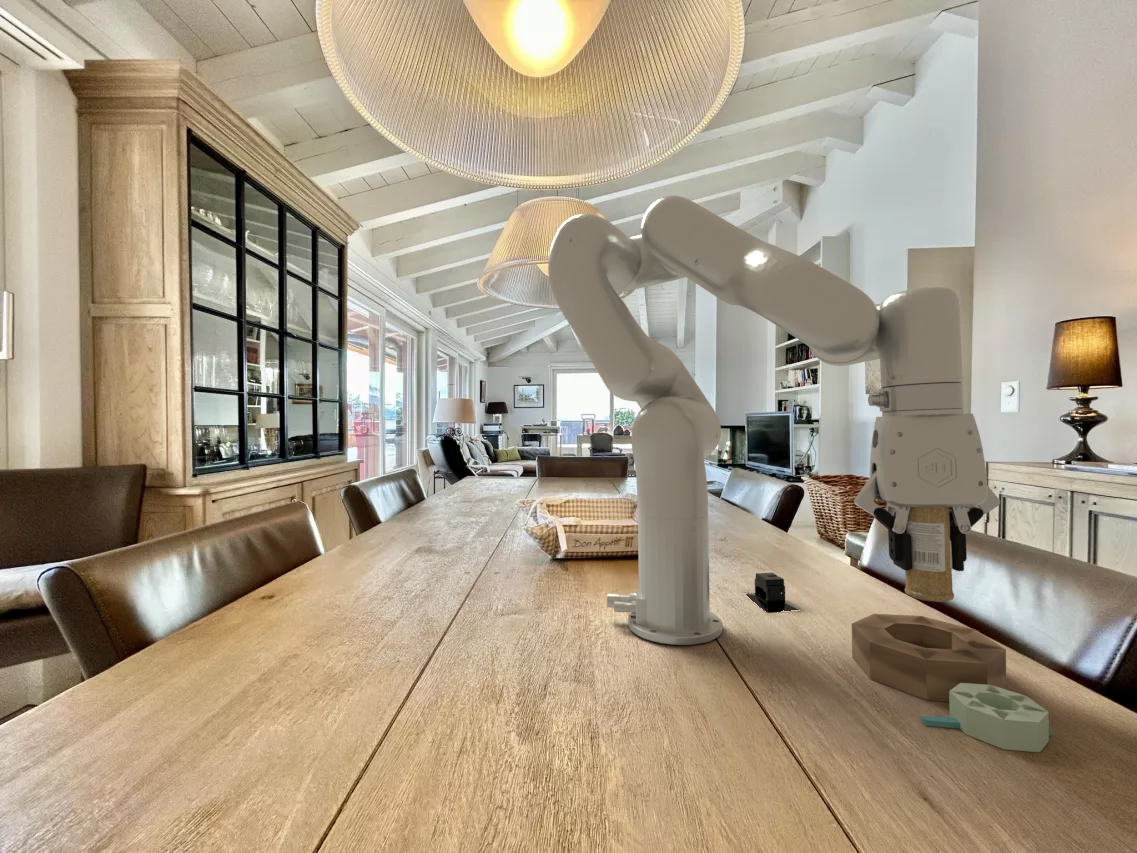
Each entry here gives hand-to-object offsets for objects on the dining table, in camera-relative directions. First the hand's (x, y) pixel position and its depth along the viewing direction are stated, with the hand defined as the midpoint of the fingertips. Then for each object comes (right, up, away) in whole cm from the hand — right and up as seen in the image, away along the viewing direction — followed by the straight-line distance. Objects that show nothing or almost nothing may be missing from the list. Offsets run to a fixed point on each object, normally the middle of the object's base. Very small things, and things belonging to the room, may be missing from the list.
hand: (927, 565), depth 58 cm
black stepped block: (-8, -13, +24) cm, 28 cm away
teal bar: (-2, -12, -11) cm, 16 cm away
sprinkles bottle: (0, -4, 0) cm, 4 cm away
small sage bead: (-1, -12, -11) cm, 16 cm away
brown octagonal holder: (0, -12, 0) cm, 12 cm away
